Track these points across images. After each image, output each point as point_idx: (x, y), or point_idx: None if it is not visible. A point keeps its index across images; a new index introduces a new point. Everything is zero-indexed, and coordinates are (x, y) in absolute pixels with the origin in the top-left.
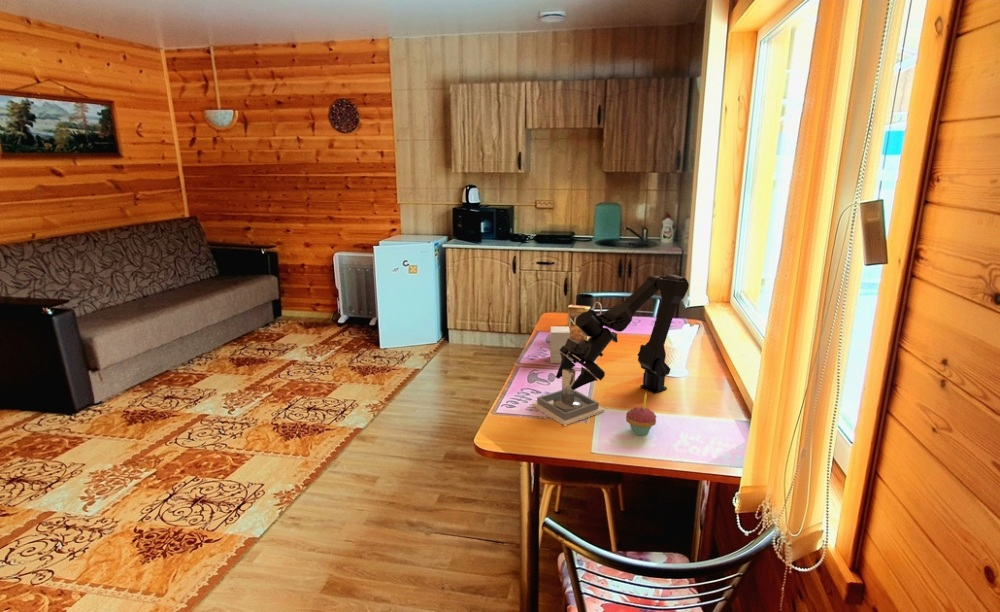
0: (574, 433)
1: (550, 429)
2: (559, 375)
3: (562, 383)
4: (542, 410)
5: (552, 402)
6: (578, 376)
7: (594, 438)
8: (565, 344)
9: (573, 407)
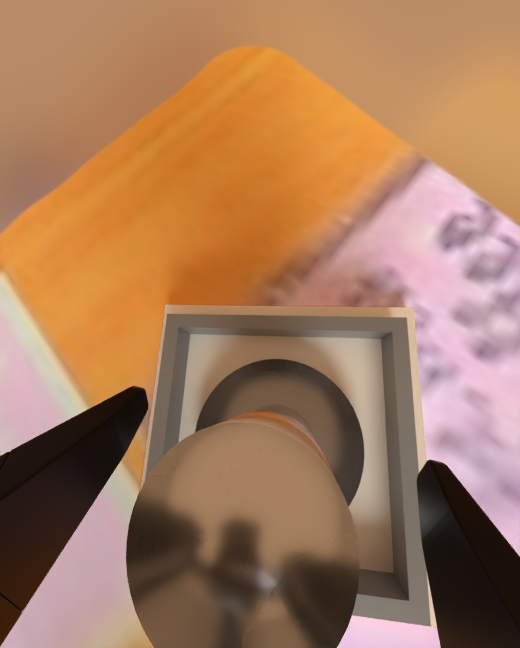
0: (109, 304)
1: (190, 251)
2: (430, 504)
3: (286, 416)
4: (321, 307)
5: (358, 399)
6: (1, 495)
7: (36, 340)
8: None
9: (204, 415)
